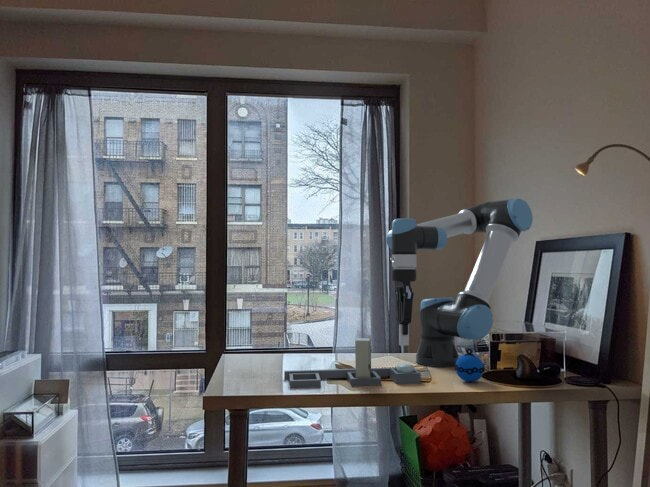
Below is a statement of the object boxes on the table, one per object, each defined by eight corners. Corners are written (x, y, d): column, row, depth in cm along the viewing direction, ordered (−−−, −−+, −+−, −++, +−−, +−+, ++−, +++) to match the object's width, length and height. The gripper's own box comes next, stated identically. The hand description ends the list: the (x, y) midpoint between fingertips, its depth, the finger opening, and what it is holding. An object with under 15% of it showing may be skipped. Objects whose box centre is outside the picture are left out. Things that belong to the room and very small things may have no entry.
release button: (410, 371, 152) (410, 363, 153) (415, 375, 147) (415, 367, 148) (395, 372, 152) (395, 363, 152) (399, 375, 147) (399, 367, 147)
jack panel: (403, 375, 156) (403, 367, 156) (412, 383, 145) (412, 375, 145) (284, 378, 152) (284, 370, 152) (284, 388, 142) (284, 379, 142)
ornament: (455, 384, 145) (454, 350, 145) (455, 377, 153) (454, 345, 153) (485, 386, 142) (484, 352, 143) (483, 379, 151) (483, 346, 151)
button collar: (413, 376, 154) (413, 367, 154) (420, 383, 146) (420, 373, 146) (390, 377, 153) (390, 367, 153) (396, 383, 146) (395, 373, 146)
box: (369, 384, 145) (369, 341, 146) (355, 383, 146) (354, 340, 147) (371, 379, 151) (371, 338, 151) (357, 379, 151) (357, 337, 152)
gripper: (387, 268, 157) (387, 341, 156) (397, 268, 144) (397, 349, 143) (410, 268, 157) (410, 341, 157) (422, 269, 144) (422, 348, 144)
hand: (404, 344), depth 150 cm, fingers closed
